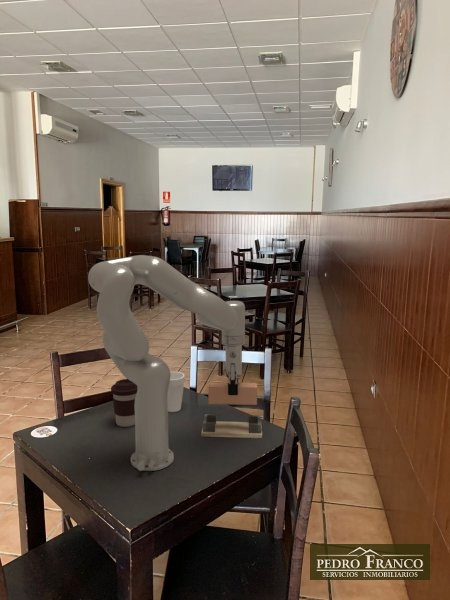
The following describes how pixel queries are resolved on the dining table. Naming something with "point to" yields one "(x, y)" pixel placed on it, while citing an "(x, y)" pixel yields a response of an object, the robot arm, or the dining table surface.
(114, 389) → the coffee cup
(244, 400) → the orange brown rectangular block
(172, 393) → the foam cup
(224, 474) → the dining table surface
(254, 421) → the board
